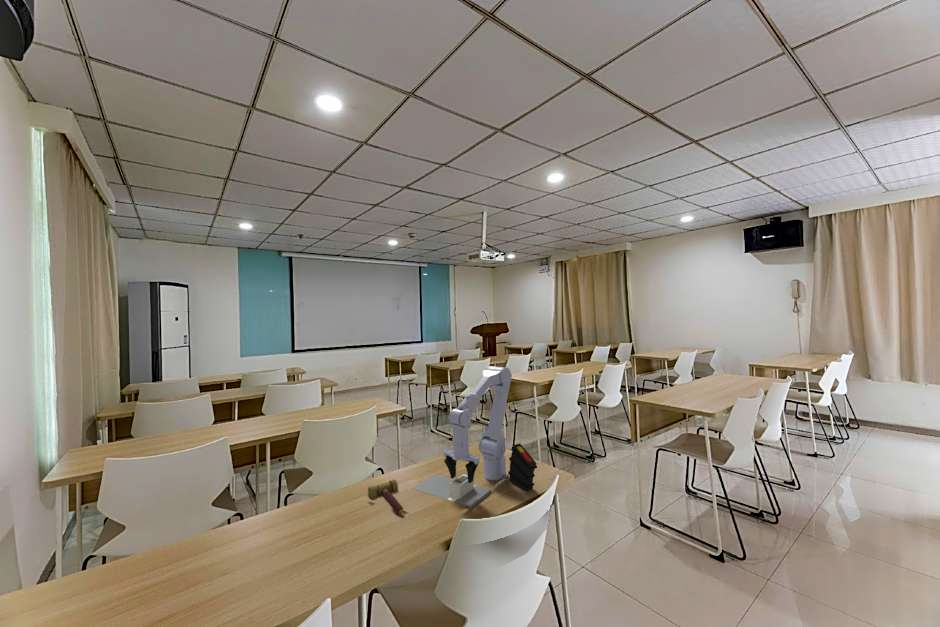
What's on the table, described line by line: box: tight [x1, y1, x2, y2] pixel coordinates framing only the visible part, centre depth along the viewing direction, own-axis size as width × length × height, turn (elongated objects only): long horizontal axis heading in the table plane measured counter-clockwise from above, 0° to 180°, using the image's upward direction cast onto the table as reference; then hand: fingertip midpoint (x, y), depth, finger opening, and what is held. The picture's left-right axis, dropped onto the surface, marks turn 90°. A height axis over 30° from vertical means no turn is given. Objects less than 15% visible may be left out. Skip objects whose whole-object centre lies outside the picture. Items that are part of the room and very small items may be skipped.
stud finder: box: [450, 473, 475, 499], centre depth 139 cm, size 9×4×5 cm, turn 146°
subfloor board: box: [411, 474, 492, 510], centre depth 142 cm, size 14×26×1 cm, turn 56°
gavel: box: [367, 479, 405, 517], centre depth 134 cm, size 21×5×10 cm
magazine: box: [507, 442, 538, 492], centre depth 145 cm, size 4×13×15 cm, turn 30°
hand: (461, 479), depth 139 cm, fingers open, 7 cm apart
